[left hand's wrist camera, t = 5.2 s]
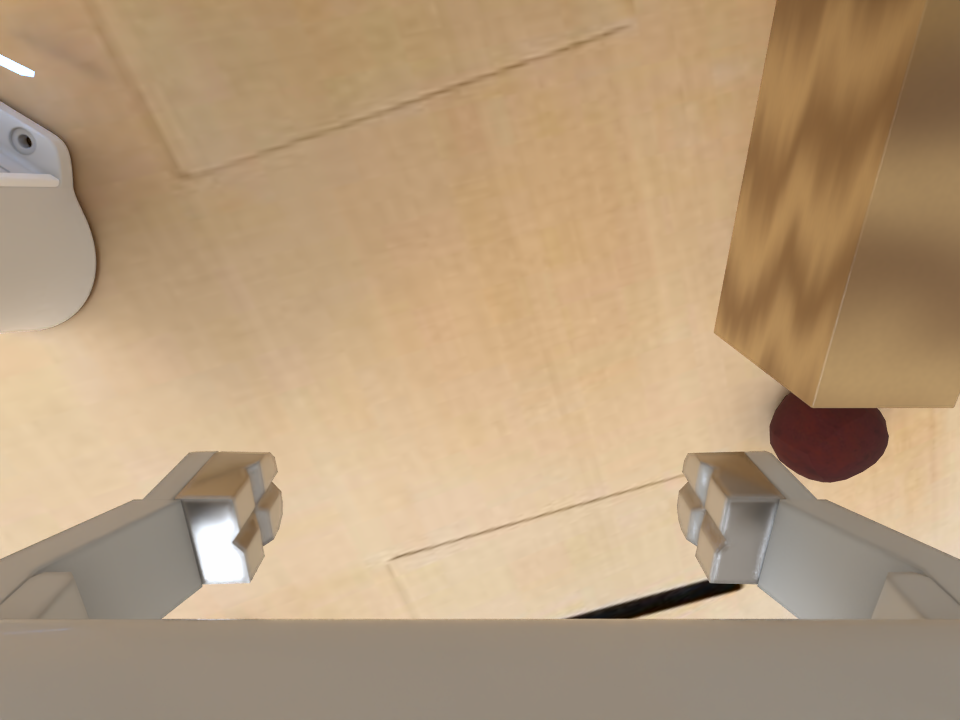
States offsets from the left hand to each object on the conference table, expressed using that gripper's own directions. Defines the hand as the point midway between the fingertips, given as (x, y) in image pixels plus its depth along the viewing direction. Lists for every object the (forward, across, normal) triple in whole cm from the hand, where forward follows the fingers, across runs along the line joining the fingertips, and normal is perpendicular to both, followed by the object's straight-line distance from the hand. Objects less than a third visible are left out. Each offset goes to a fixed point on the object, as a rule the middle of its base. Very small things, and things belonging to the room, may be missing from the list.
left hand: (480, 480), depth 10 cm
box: (+21, -17, -7) cm, 28 cm away
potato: (+30, -27, +14) cm, 43 cm away
